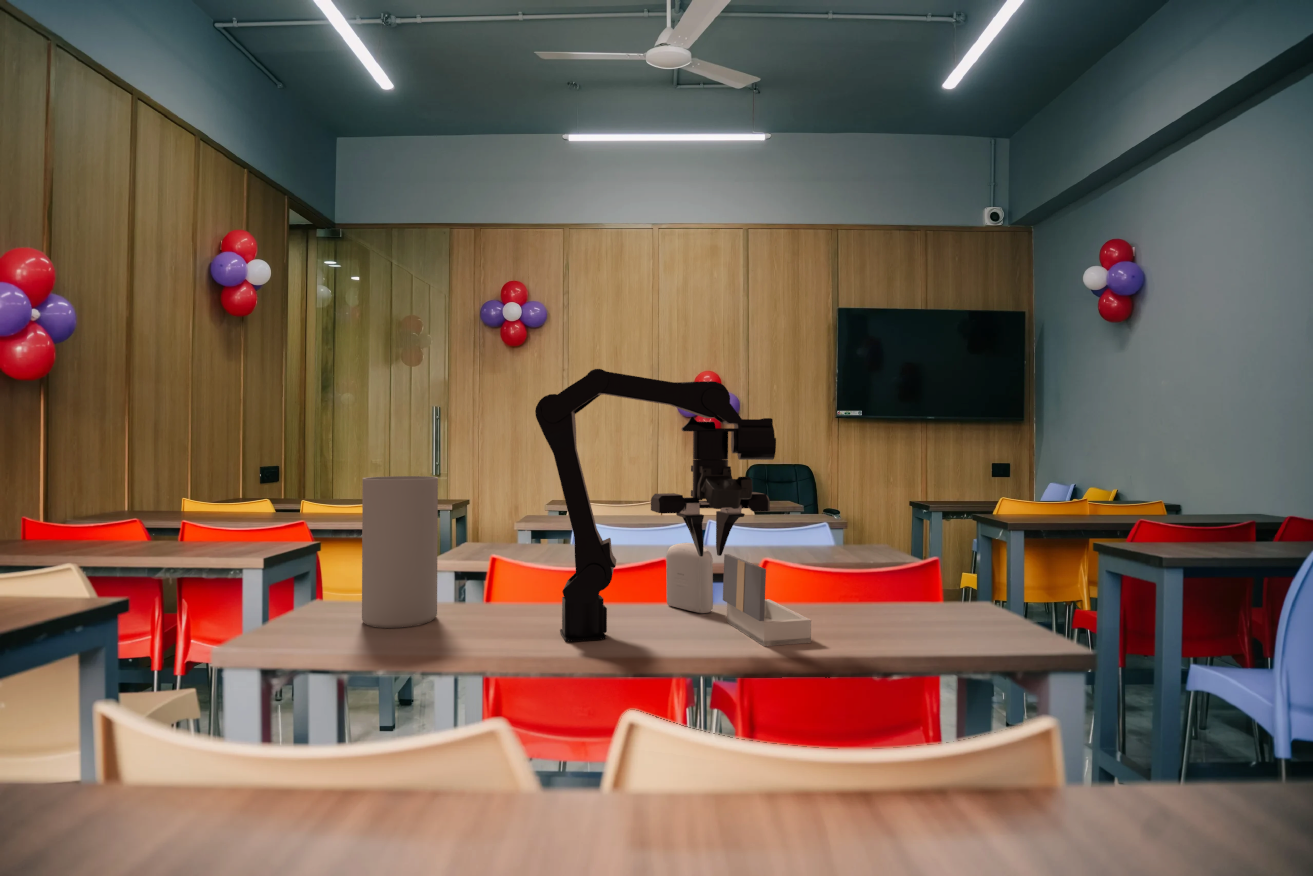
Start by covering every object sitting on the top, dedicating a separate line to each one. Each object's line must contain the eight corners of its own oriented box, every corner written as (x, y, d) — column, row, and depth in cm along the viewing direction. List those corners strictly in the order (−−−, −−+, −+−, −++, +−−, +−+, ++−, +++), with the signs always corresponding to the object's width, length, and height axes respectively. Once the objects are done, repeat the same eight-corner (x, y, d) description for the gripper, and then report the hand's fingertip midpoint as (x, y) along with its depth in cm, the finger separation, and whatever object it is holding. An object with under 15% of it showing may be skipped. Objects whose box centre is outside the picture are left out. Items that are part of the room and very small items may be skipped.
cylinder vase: (390, 610, 141) (391, 475, 141) (450, 614, 138) (451, 476, 138) (346, 626, 129) (346, 478, 129) (410, 631, 126) (411, 480, 126)
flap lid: (764, 621, 117) (758, 621, 117) (726, 600, 133) (722, 600, 132) (766, 569, 117) (760, 569, 117) (728, 554, 133) (723, 554, 133)
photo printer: (663, 605, 146) (663, 541, 146) (679, 602, 149) (680, 539, 149) (699, 615, 138) (699, 547, 138) (716, 612, 141) (716, 545, 141)
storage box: (764, 646, 117) (764, 623, 117) (726, 622, 133) (726, 601, 133) (811, 642, 119) (811, 619, 119) (769, 619, 135) (769, 599, 135)
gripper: (669, 461, 113) (669, 566, 113) (784, 460, 118) (784, 561, 118) (650, 459, 124) (649, 555, 124) (756, 459, 129) (755, 551, 129)
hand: (710, 555), depth 123 cm, fingers open, 3 cm apart
